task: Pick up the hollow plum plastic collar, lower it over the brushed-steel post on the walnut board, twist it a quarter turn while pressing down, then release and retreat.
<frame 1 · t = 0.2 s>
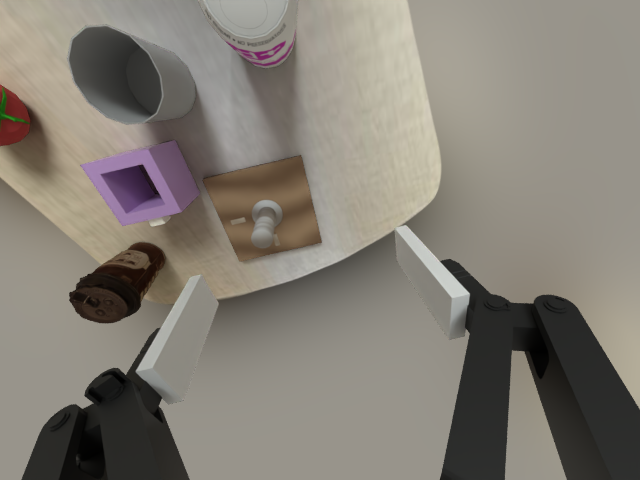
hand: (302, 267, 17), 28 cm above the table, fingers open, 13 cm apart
coffee cup: (147, 254, 46), on the table
tomato: (16, 110, 33), on the table
collar: (162, 174, 39), on the table
cup: (163, 84, 33), on the table
post board: (268, 211, 44), on the table
supplement can: (263, 30, 32), on the table
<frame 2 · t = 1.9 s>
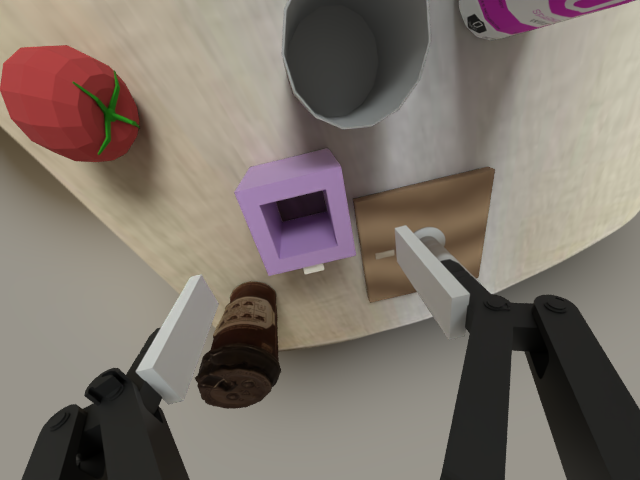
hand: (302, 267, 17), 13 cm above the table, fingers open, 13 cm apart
coffee cup: (253, 295, 35), on the table
tomato: (116, 108, 22), on the table
collar: (298, 195, 28), on the table
cup: (332, 67, 22), on the table
post board: (420, 240, 33), on the table
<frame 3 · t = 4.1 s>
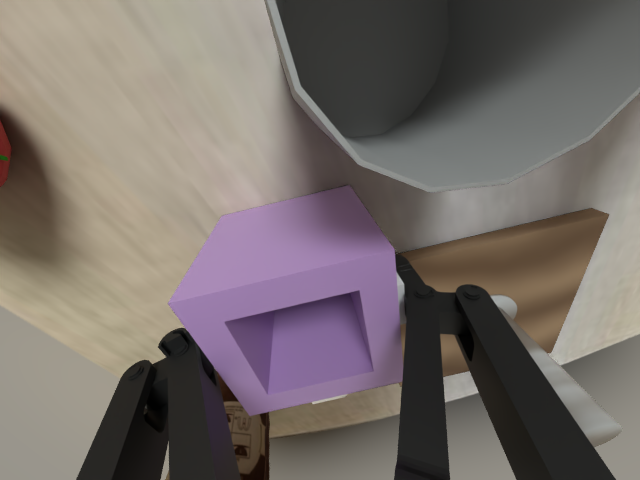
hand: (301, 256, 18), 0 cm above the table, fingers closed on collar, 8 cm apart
coffee cup: (237, 380, 25), on the table
collar: (301, 253, 18), on the table, touching gripper
cup: (361, 49, 13), on the table
post board: (475, 307, 23), on the table
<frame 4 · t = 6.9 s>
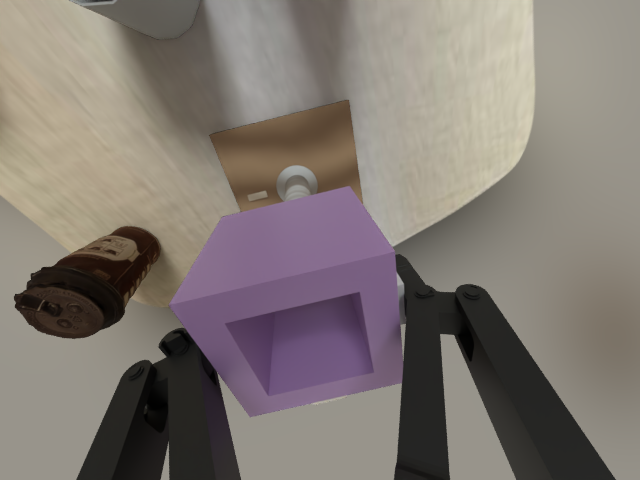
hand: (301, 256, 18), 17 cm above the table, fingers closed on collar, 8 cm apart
coffee cup: (136, 243, 35), on the table
collar: (301, 254, 18), point 17 cm above the table, touching gripper
post board: (296, 183, 32), on the table
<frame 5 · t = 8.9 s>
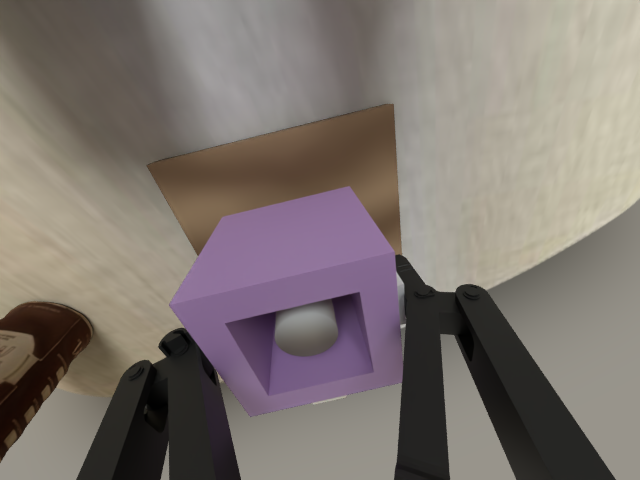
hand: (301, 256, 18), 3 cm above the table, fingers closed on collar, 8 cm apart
coffee cup: (55, 322, 23), on the table
collar: (301, 254, 18), point 3 cm above the table, touching gripper
post board: (300, 234, 20), on the table
when the fingers open (2 cm above the table, at t = 10.2 s): collar stays where it is, resting on post board.
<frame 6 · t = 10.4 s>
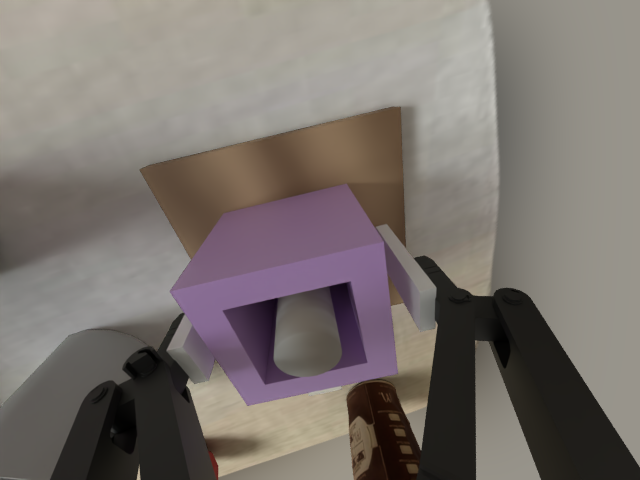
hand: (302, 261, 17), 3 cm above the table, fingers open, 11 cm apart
coffee cup: (368, 392, 32), on the table
collar: (300, 251, 18), point 1 cm above the table, touching post board
cup: (112, 357, 24), on the table
post board: (300, 241, 20), on the table
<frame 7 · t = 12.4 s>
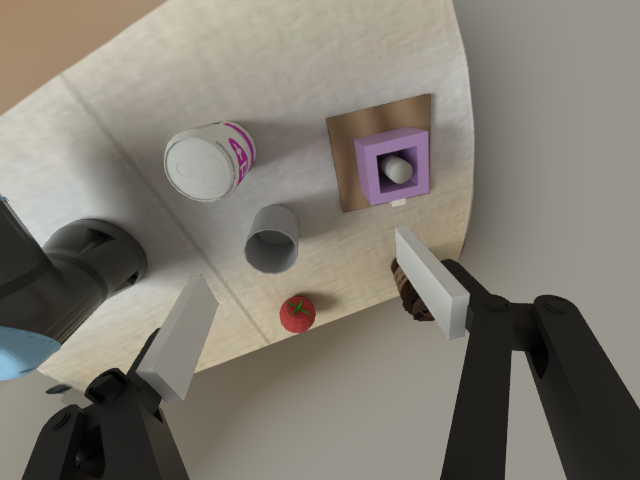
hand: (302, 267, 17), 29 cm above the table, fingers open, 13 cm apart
coffee cup: (403, 264, 54), on the table
tomato: (298, 300, 57), on the table
collar: (382, 159, 41), point 1 cm above the table, touching post board
cup: (276, 224, 48), on the table
post board: (380, 157, 42), on the table
supplement can: (231, 148, 40), on the table
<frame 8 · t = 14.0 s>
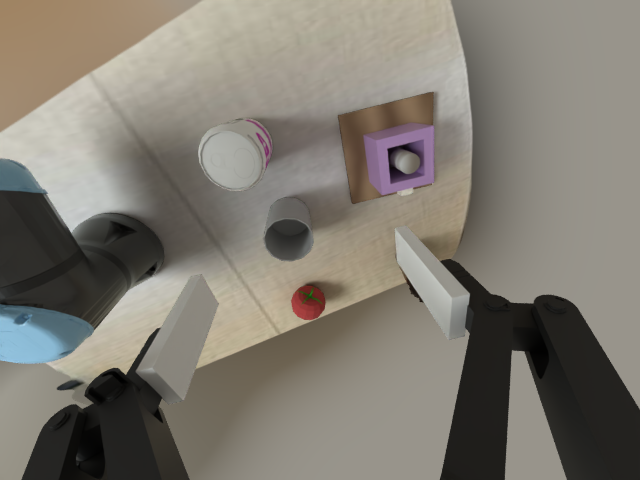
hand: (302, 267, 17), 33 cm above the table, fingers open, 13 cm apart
tomato: (307, 290, 60), on the table
collar: (389, 153, 45), point 1 cm above the table, touching post board
cup: (289, 216, 50), on the table
post board: (387, 152, 46), on the table
supplement can: (249, 143, 43), on the table
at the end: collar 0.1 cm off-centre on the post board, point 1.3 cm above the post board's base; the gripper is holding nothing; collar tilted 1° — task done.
